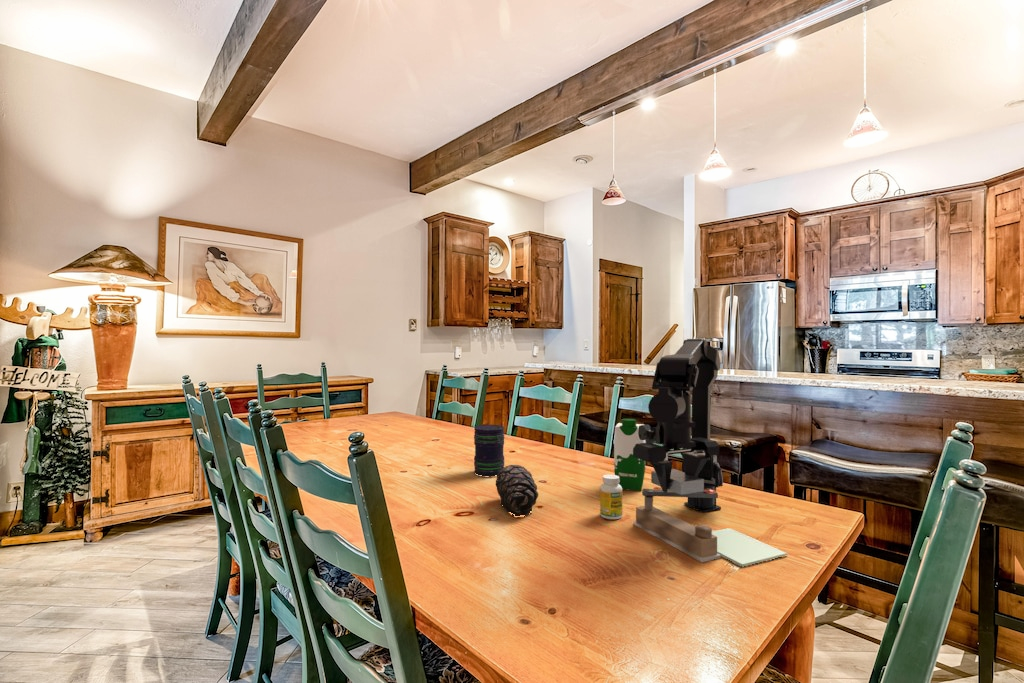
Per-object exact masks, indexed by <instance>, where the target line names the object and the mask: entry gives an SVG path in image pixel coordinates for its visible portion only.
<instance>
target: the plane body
mask: <svg viewBox="0 0 1024 683" xmlns="http://www.w3.org/2000/svg"><path fill="white" fill-rule="evenodd" d="M653 502H654V497H646V496H644V505H642V506H641V505H640V506H636V507H635V521H633V523H632V524H633V525H634V526H635V527H638V528H639V529H641V530H643V531H645V532H646V533H648V534H650V535H652V536H654V537H655V538H657V539H659V540H661V541H662V542H665V543H666V544H668V545H670V546H671V547H673V548H675V549H677V550H679V551H680V552H683V553H684V554H686V555H688V556H690V557H691V558H693V559H695V560H697V561H698V562H700V563H706V562H710V561H715V560H718V559H721V558H722V557H721V555H720V554H718V553H717V537H716V536H714V535H712V531H713V529H712V527H711V526H709V525H705V524H697V525H693V524H691V523H689V522H686V521H685V520H683V519H680V518H678V517H676V516H674V515H672V514H670V513H668V512H666V511H663V510H662V509H660V508H657V507H654V503H653ZM714 559H715V560H714Z"/></svg>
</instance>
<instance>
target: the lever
mask: <svg viewBox="0 0 1024 683" xmlns="http://www.w3.org/2000/svg"><path fill="white" fill-rule="evenodd" d="M641 492H642V496H643V497H645V496H646V497H653V498H654V497H666V498H667V497H668V498H669V497H670V498H688V497H696V498H716V499H719V497H718V496H719V493H718V492H717V490H716V491H715V490H714V489H704V491H702V492H696V493H689V494H683V495H680V494H678V493H675V492H673V491H670V490H668V491H667V492H663V491H662V489H652V488H642V490H641Z"/></svg>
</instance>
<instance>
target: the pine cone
mask: <svg viewBox="0 0 1024 683" xmlns="http://www.w3.org/2000/svg"><path fill="white" fill-rule="evenodd" d="M527 469H528V468H527ZM527 469H526V468H525V467H524V466H521V465H519V464H509V465H506V466H504V468H503V469H502V470H501V471H500V472H499V473H498V475H497V477H496V480H495V488H496V490H497V493H498V496H499V497H500V500H501V504H500V506H501V507H502V509H503V508H504V509H506V510H505V512H507V513H508V512H511V513H513V514H515V516H520V515H525V516H526V517H528V515H529V513H530V511H532V508H533V506H535V505H536V504H537V499H538V498H539V492H538V491H537V490H538V486H537V484H536V483H535V482H536V481H535V479H534V477H533V476H532V473H531V471H529V470H527ZM502 505H503V506H502ZM504 509H503V510H504ZM513 514H512V516H514V515H513ZM512 516H511V517H512ZM525 516H524V517H523V518H526V517H525ZM529 516H530V515H529Z"/></svg>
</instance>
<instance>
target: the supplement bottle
mask: <svg viewBox="0 0 1024 683" xmlns="http://www.w3.org/2000/svg"><path fill="white" fill-rule="evenodd" d="M619 482H620V481H619V476H617V475H615V474H603V475H602V483H601V485H600V486H599V500H600V501H599V504H600V506H599V508H600V510H599V512H600V513H599V514H600V516H601V517H602V518H604V519H606V520H619V519H622V517H623V489H622V487H621V485H619V484H618V483H619Z"/></svg>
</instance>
